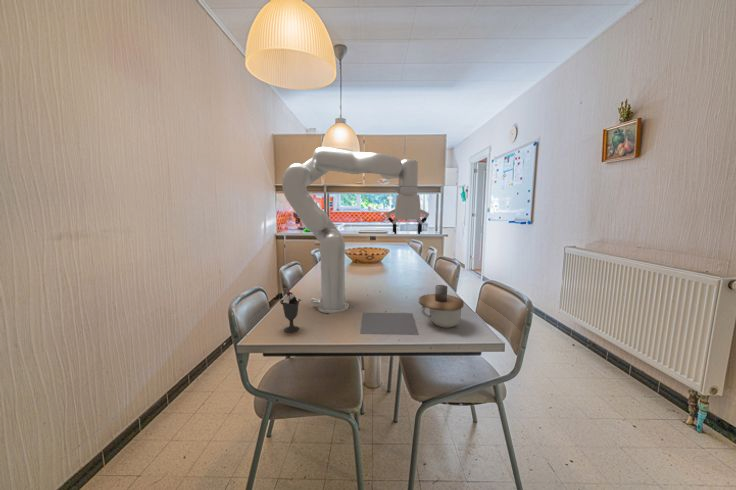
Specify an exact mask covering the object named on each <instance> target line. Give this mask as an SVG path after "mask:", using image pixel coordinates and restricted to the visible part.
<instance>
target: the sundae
mask: <svg viewBox="0 0 736 490" xmlns="http://www.w3.org/2000/svg"><path fill="white" fill-rule="evenodd" d="M285 288H287V291H286V295H284V297H283V299H281V300H279V301H280V302H279V303H280V304H281V305H282V308H283V314H284V317H285V318H286V319H287V321H289V326H287V327H285V328H284V329H283V331H284V332H285V333H291V334H292V333H296V332H298V331H299V330H300V327H299V326H296V325H295V324H294V320H295V319H296V318H297V317H298V312H299V304H300V302H301V301H302V300H301V299H300V298H298V297H296V295H295V294H294V293H293V292H291V291H290V290H289V287H288V285H285Z"/></svg>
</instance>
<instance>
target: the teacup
mask: <svg viewBox="0 0 736 490" xmlns="http://www.w3.org/2000/svg"><path fill="white" fill-rule="evenodd" d="M420 309H421V314H422V315H423V316H424V317H425V318H427V319H428V320H429V321H430V322H431V321H432V323H434V325H436V326H437V327H441V328H445V329H446V328H447V329H449V328H454V327H456V326H458V325H459V323H460V321H461V316H462V308H461V309H458V310H452V311H441V310H434V309H429V314H427V313H426V312H425V309H427V308H426V307H424V306H422V305H421V308H420Z"/></svg>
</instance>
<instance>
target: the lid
mask: <svg viewBox="0 0 736 490" xmlns="http://www.w3.org/2000/svg"><path fill="white" fill-rule="evenodd" d="M418 303H419V305H421V307H422V306H424V307H426V308H425V309H429V310H430V309H434V310H441V311H452V310H458V309H461V310H462V308H464V304H465V303H464V301H463V299H462V298H460V297H458V296H454V295H449V294H448V286H447V285H445V284H436V285H435V293H429V294H424V295H422V296H420V297H419V298H418Z"/></svg>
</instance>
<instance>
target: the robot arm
mask: <svg viewBox="0 0 736 490" xmlns="http://www.w3.org/2000/svg"><path fill="white" fill-rule="evenodd" d="M418 163H419V162H418V161H417V159H412V158H411V159H410V158H406V159H404V158H403V159H400V158H399V157H397V156H395V155H391V154H385V153H379V152H368V151H367V152H366V151H353V150H348V149H342V148H341V149H340V148H335V147H331V146H319V147H317V148H315V150H314V151H313V154H312V157H310V158H309V159H308V160H306V161H305V162H303V163H299V162H295V163H292V164H290V165H289V166H287V168H286V169H285V172H284V173H283V177H282V180H281V182H282V184H281V185H282V186H281V187H282V192H283V194H284V197H285V199H286V200H287V202H288V203H289V205H290V207H291V209H292V210H293V211H294V212H295V213H296V215H297V216H298V218H299V219H300V220H301V222H302V223H303V225H304V226H305V228H306V229H307V230H308V231H309V232H310V233H312V235H314V237H315V238H316V240H318V242H319V255H320V284H321V286H320V287H321V288H320V291H321V293H320V294H321V296H320V297H310V298H311V299H310V303H311V304H312V305H317V310H318V311H319V312H321V313H324V314H335V313H336V314H337V313H342V312H345V311H347V310H348V309H349V307H350V305H349V303H348V302H346V287H345V286H346V280H345V279H346V278H345V276H346V274H345V272H346V271H345V269H346V268H345V267H346V266H345V254H346V253H345V252H346V251H345V250H346V244H345V243H346V242H345V238H344V236H343V235H342V233H341V232H340V231H339V229H338V228H337V227H336V225H335V224H334V223H333V221H332V219H331V218H330V217H329V216H328V214H327V213H326V212H325V210H323V209H321V208H320V206H319V205H318V204H317V202H315V200H314V198H313V196H312V195H311V194H310V193H309V191H308V189H307V187H308V186H310V185H312V184H313V183H314V182H316V181H317V180H319V179H320V178H322V177H323V176H324V175H326V174H327V173H328V172H330V171H331V172H337V173H342V174H350V175H359V174H376V175H379V176H380V177H382V178H383V179H385V180H391V179H392V180H393V179H398V187H396V188H395V189H394V192H396V193H397V195H396V196H395V197H396V198H395V203H394V209H392V210H390V211H388V212H386V213H385V214H386V217H387V219H388V221H389V222H390V223H391V224H392V233H394V235H397V225H398V224H397V222H398V221H399V220H401V221H406V220H409V221H410V220H412V221H414V220H415V221H416V222H417V223H418V224H417V234H418V235H421V233H422V232H423V224H424V223H425V222H426V221H427V219H428V217H429V216H430V213H429V212H427V211H425V210H423V209H422V208H421V197H420V194H418V181H419V180H418V177H419V172H418V170H419V164H418ZM392 214H394V219H393V218H392V217H391V215H392ZM421 215H423V218H422V219H421Z"/></svg>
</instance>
